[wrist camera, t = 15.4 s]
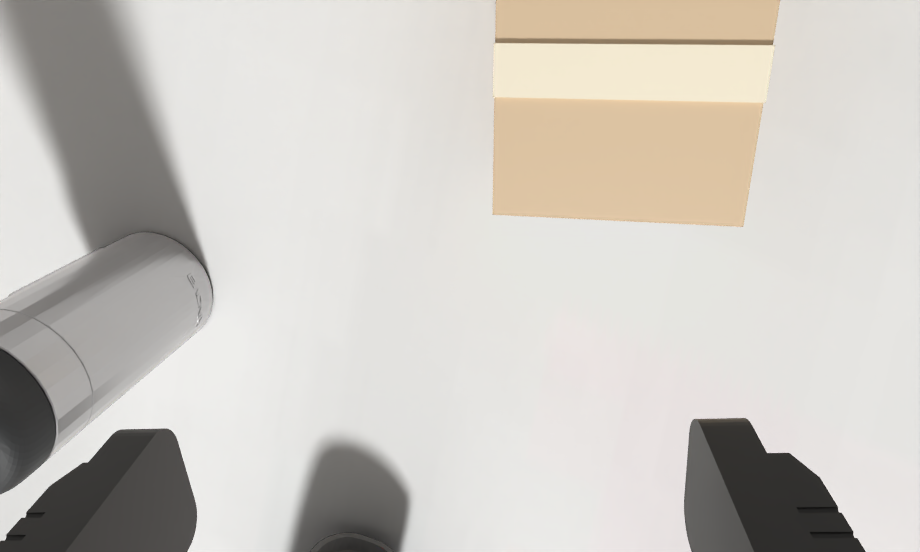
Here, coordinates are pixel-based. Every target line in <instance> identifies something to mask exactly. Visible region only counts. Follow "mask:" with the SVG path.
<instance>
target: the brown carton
mask: <svg viewBox="0 0 920 552" xmlns="http://www.w3.org/2000/svg"><path fill="white" fill-rule="evenodd" d="M779 3H780V0H496V34H495V43H494V58H493V97H495V98H494V161H493V215H511V216H531V217H552V218H572V219H593V220H613V221H634V222H654V223H675V224H695V225H716V226H736V227H743V225H744V219H745V212H746V206H747V200H748V194H749V188H750V182H751V176H752V169H753V163H754V157H755V151H756V145H757V139H758V133H759V126H760V120H761V114H762V108H763V103H766V98H767V92H768V86H769V80H770V74H771V67H772V61H773V55H774V49H775V45H773V40H774V34H775V28H776V22H777V16H778V10H779Z"/></svg>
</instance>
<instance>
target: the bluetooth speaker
mask: <svg viewBox="0 0 920 552" xmlns="http://www.w3.org/2000/svg"><path fill="white" fill-rule="evenodd" d="M310 552H394V551H393V550H392V549H391V548H390V547H388V546H387V545H386V544H384V543H382V542H380V541H378V540H375V539H372V538H370V537H367V536H363V535H360V534H356V533H339V534H335V535H332V536H329V537H327V538H325V539H323V540H322V541H320V542H319V543H318V544H316V545H315V546H314V547H313V548H312V550H311V551H310Z"/></svg>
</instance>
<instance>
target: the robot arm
mask: <svg viewBox="0 0 920 552" xmlns="http://www.w3.org/2000/svg"><path fill="white" fill-rule="evenodd" d="M212 304H213V297H212V289H211V285H210V281H209V278H208V276H207V274H206V272H205V270H204V268H203V267H202V265H201V264H200V262H199V261H198V260H197V258H196V257H195V256H194V255H193V254H192V253H191V252H190V251H189V250H188V249H187V248H185V247H184V246H183V245H181V244H180V243H178V242H177V241H175V240H173V239H171V238H169V237H167V236H164V235H160V234H156V233H148V232H140V233H135V234H130V235H128V236H126V237H124V238H122V239H120V240H118V241H116V242H114V243H112V244H110V245H108V246H106V247H104V248H102V247H101V248H99V249H97V250H95V251H93V252H91V253H89V254H87V255H85V256H83V257H81V258H79V259H77V260H75V261H73V262H71V263H69V264H67V265H65V266H63V267H61V268H60V269H58V270H56V271H54V272H52V273H50V274H48V275H46V276H44V277H42V278H40V279H38V280H36V281H34V282H32V283H30V284H28V285H26V286H24V287H22V288H20V289H19V290H17V291H15V292H13V293H11V294H10V295H9V296H8V297H7V298H5V299H3V300H1V301H0V494H2V493H4V492H6V491H9V490H10V489H12V488H14V487H15V486H17V485H18V484H19V483H21V482H22V481H23V480H25V479H26V478H27V477H28V476H29V475H30V474H32V473H33V472H34V471H35V470H36V469H37V468H39V467H40V466H41V465H42V464H43V463H44V462H45V461H47V460H48V459H49V458H50V457H51V456H53V455H54V454H55V453H56V452H57V451H58V450H60V449H61V448H62V447H63V446H64V445H65V444H67V443H68V442H69V441H70V440H71V439H72V438H74V437H75V436H76V435H77V434H78V433H79V432H80V431H82V430H83V429H84V428H85V427H86V426H87V425H89V424H90V423H91V422H92V421H93V420H94V419H96V418H97V417H98V416H99V415H100V414H101V413H103V412H104V411H105V410H106V409H107V408H109V407H110V406H111V405H112V404H113V403H114V402H116V401H117V400H118V399H119V398H120V397H121V396H123V395H124V394H125V393H126V392H127V391H129V390H130V389H131V388H132V387H133V386H134V385H136V384H137V383H138V382H139V381H140V380H141V379H143V378H144V377H145V376H146V375H147V374H148V373H150V372H151V371H152V370H153V369H154V368H156V367H157V366H158V365H159V364H160V363H161V362H163V361H164V360H165V359H166V358H167V357H168V356H170V355H171V354H172V353H173V352H175V351H176V350H177V349H178V348H179V347H180V346H182V345H183V344H184V343H185V342H186V341H187V340H189V339H190V338H191V337H192V336H193V335H194V334H196V333H197V332H198V331H199V330H200V329H201V328H202V327H203V326H204V325H205V323H206V322H207V320H208V318H209V316H210V314H211V309H212ZM26 514H27V515H26V518H21V519H20V520H19V521H18V522H17V524H16V525H15V526H14V527H13V528H12V529H11V530H10V531H9V532H8V534H7V535H6V536H7V537H6V540H5V541H0V552H187V551H188V549H189V547H190V545H191V543H192V540H193V537H194V534H195V529H196V522H197V509H196V503H195V499H194V496H193V492H192V489H191V485H190V482H189V479H188V475H187V472H186V468H185V465H184V462H183V458H182V455H181V451H180V448H179V444H178V441H177V438H176V436H175V434H174V433H173V432H172V431H171V430H169V429H126V430H119V431H117V432H115V433H114V434H113V435H112V436H111V437H110V438H109V439H108V440H107V441H106V443H105V444H104V445H103V446H102V447H101V448H100V450H99V451H98V452H97V453H96V454H95V455H94V457H93V458H92V459H91V460H90V461H89V462H88V463H82V464H81V465H79V466H78V467H76V468H75V469H74V470H72V471H71V472H69V473H68V474H66V475H65V476H64V477H62V478H61V479H59V480H58V481H56V482H55V483H54V484H52V485H51V486H50V487H49V488H48V489H47V490H46V491H45V492H44V493H43V494H42V496H41V497H40V498H39V499H38V500H37V501H36V502H35V503H34V505H33V506H32V507H31V508H30V509H29V510H28V511H27V512H26ZM684 514H685V524H686V531H687V536H688V540H689V544H690V548H691V551H692V552H865V550H864V548H863V547H862V545H861V544H860V542H859V540H858V539H857V538H854V536H853V531H852V529H851V527H850V526H849V524H848V523H847V521H846V519H845V518H844V516H843V514H842V513H839V512H838V506H837V505H836V503H835V502H834V500H833V498H832V497H831V495H830V493H829V492H828V490H827V489H826V487H825V485H824V484H823V482H822V481H821V479H820V477H818V476H817V475H816V474H815V473H813V472H812V471H811V470H810V469H808V468H807V467H806V466H805V465H803V464H802V463H801V462H800V461H798V460H797V459H796V458H795V457H793V456H792V455H791V454H790V453H767V452H766V450H765V449H764V447H763V445H762V443H761V441H760V439H759V438H758V436H757V434H756V432H755V430H754V428H753V426H752V425H751V423H750V422H749V420H748V419H746V418H728V419H694V420H693V421H692V422H691V426H690V432H689V445H688V458H687V471H686V484H685V497H684Z"/></svg>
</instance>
